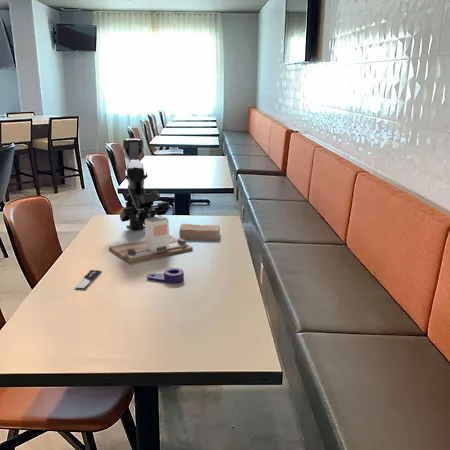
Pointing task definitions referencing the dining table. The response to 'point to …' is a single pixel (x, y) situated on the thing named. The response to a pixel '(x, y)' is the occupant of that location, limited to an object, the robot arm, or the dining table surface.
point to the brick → (199, 232)
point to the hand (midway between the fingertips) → (153, 230)
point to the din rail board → (139, 253)
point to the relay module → (157, 233)
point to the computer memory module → (88, 280)
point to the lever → (168, 276)
